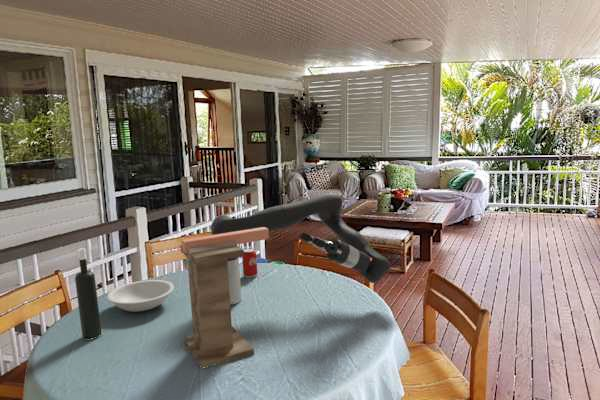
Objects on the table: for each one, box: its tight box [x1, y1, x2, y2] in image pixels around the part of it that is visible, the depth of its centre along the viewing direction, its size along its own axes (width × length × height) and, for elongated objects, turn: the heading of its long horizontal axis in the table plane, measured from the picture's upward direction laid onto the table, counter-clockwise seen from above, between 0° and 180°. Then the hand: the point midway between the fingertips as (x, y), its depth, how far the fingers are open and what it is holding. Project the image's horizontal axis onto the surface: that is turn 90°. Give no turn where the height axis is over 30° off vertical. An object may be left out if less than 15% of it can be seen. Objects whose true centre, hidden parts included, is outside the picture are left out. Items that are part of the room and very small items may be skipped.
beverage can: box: [241, 248, 258, 279], centre depth 204 cm, size 6×6×12 cm
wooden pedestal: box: [179, 241, 255, 369], centre depth 138 cm, size 18×16×33 cm
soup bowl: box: [106, 279, 175, 312], centre depth 174 cm, size 24×24×7 cm
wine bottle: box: [74, 247, 102, 340], centre depth 149 cm, size 6×6×30 cm
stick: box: [181, 227, 270, 253], centre depth 137 cm, size 3×26×3 cm, turn 119°
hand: (307, 237), depth 150 cm, fingers open, 8 cm apart
